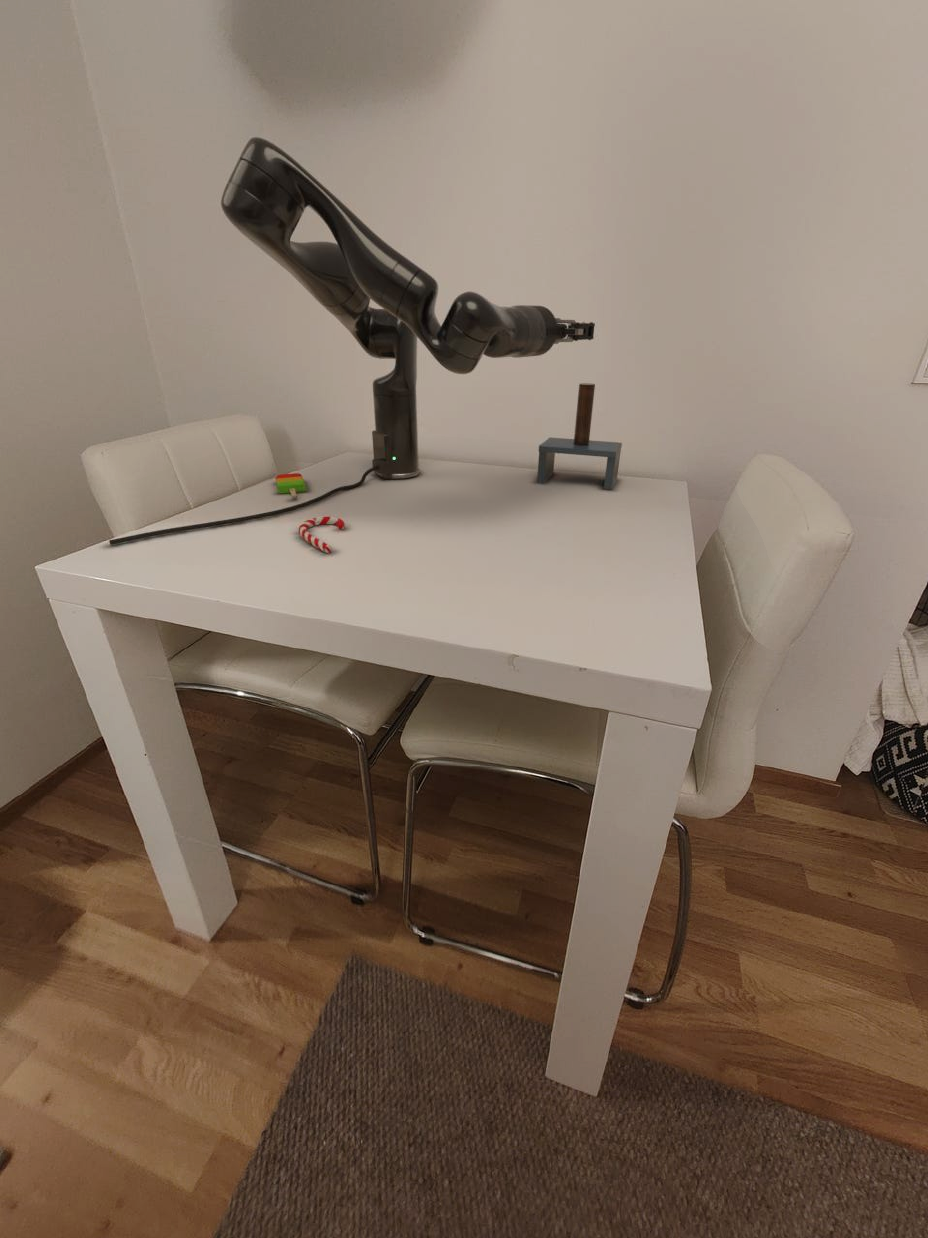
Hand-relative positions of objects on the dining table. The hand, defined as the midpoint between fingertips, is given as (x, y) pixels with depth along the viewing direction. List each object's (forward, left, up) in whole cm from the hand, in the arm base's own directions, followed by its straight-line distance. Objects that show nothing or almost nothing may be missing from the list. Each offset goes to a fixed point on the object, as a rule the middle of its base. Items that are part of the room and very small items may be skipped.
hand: (569, 329), depth 104 cm
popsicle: (-45, +30, -30) cm, 63 cm away
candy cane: (-50, 0, -30) cm, 59 cm away
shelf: (+10, +3, -30) cm, 32 cm away
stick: (+10, +3, -22) cm, 24 cm away
